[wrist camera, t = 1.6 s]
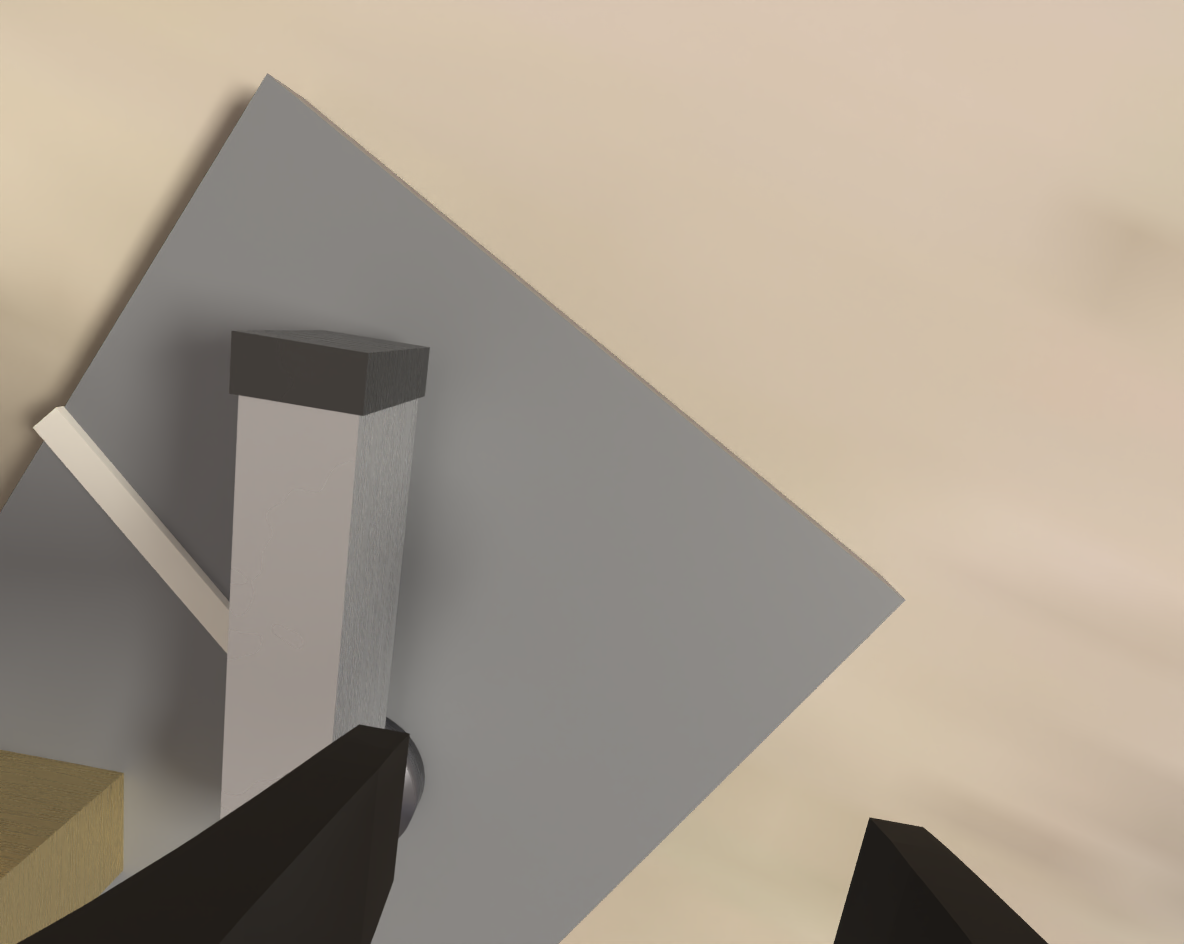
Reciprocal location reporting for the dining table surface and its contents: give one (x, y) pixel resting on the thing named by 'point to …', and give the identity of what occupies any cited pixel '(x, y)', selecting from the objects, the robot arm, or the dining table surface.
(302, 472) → the bar
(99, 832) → the tan block
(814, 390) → the dining table surface
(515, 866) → the plate
